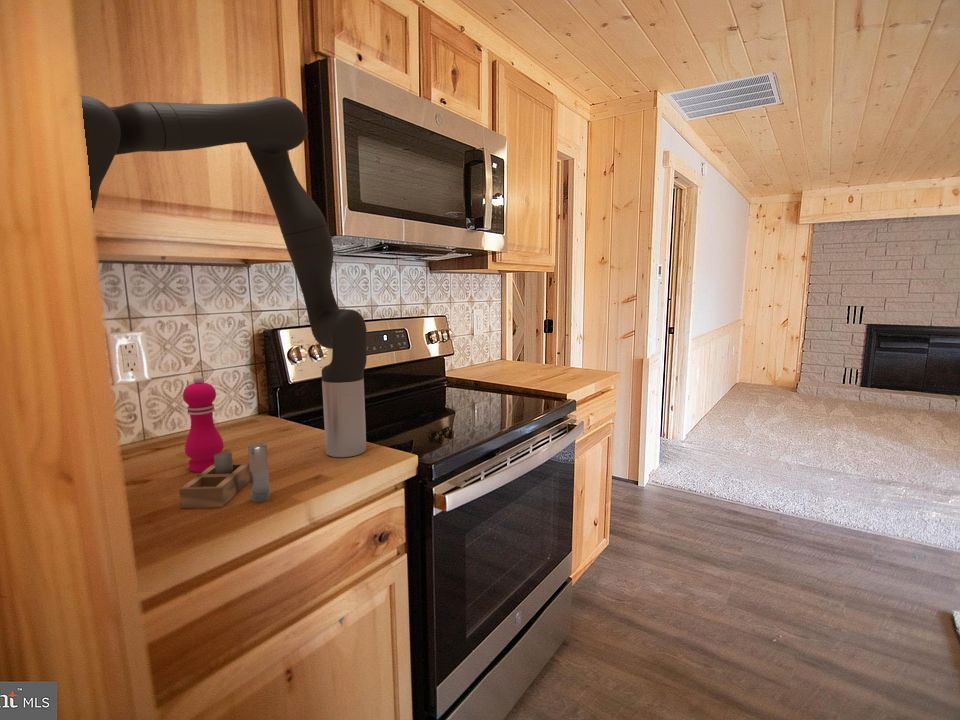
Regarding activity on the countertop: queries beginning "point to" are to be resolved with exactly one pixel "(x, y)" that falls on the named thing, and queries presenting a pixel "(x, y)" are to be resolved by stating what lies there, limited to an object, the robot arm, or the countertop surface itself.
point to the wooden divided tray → (215, 483)
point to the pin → (259, 472)
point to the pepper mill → (201, 425)
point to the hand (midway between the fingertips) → (19, 351)
